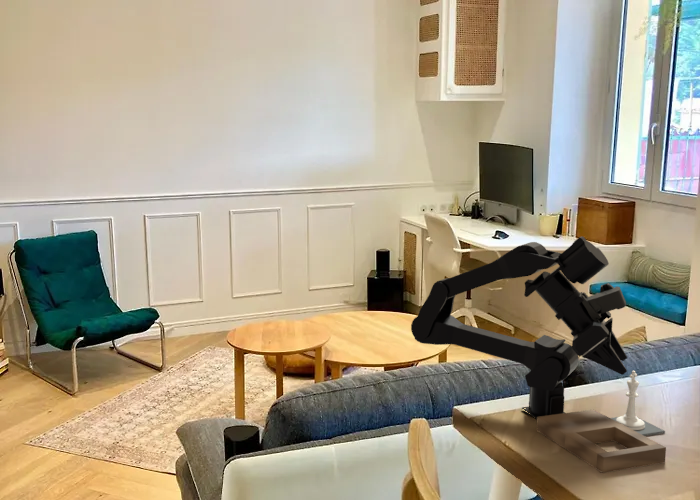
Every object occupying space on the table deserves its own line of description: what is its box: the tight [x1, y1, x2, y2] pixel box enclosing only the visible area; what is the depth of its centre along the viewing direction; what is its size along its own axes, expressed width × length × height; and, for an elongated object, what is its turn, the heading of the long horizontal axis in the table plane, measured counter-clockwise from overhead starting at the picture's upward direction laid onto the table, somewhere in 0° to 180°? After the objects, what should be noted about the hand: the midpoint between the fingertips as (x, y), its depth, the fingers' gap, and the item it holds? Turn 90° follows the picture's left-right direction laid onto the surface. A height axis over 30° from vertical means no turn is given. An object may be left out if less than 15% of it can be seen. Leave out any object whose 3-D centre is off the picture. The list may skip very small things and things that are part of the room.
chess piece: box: [616, 370, 645, 430], centre depth 125 cm, size 5×5×10 cm
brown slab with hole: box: [536, 408, 667, 474], centre depth 117 cm, size 18×12×2 cm
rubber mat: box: [610, 416, 666, 437], centre depth 125 cm, size 8×8×1 cm
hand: (625, 366), depth 124 cm, fingers open, 9 cm apart
